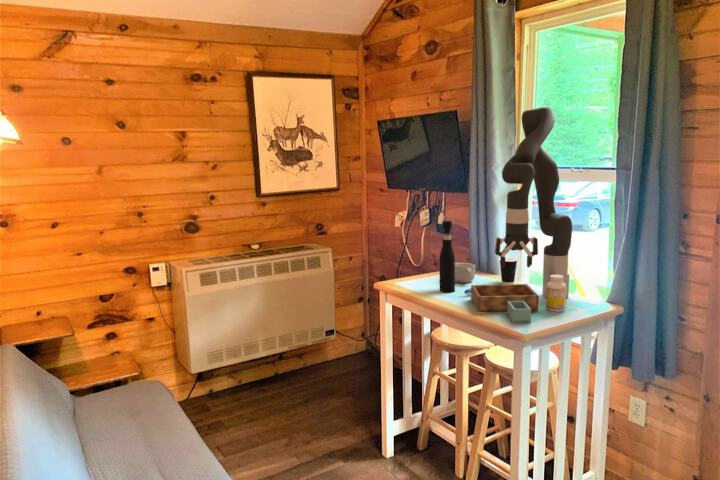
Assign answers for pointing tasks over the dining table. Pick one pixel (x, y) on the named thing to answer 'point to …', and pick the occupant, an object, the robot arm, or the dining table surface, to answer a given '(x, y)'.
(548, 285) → the supplement bottle
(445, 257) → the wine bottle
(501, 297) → the walnut crate
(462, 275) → the teacup
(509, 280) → the dixie cup
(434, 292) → the dining table surface
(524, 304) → the teal tote
